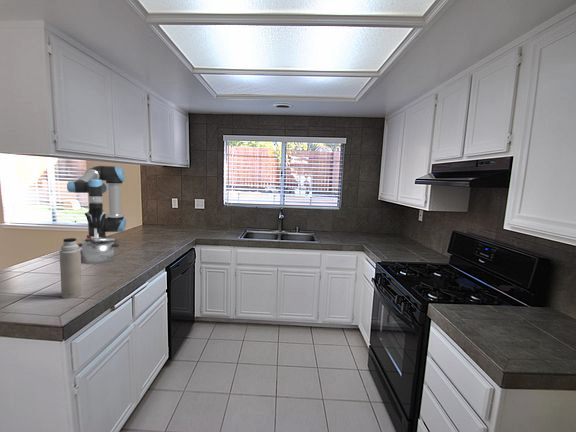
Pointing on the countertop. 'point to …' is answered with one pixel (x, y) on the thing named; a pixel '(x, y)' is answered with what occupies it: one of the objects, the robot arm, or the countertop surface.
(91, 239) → the cooker lid
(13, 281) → the countertop surface
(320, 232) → the countertop surface
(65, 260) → the thermos bottle
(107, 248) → the cooker pot
